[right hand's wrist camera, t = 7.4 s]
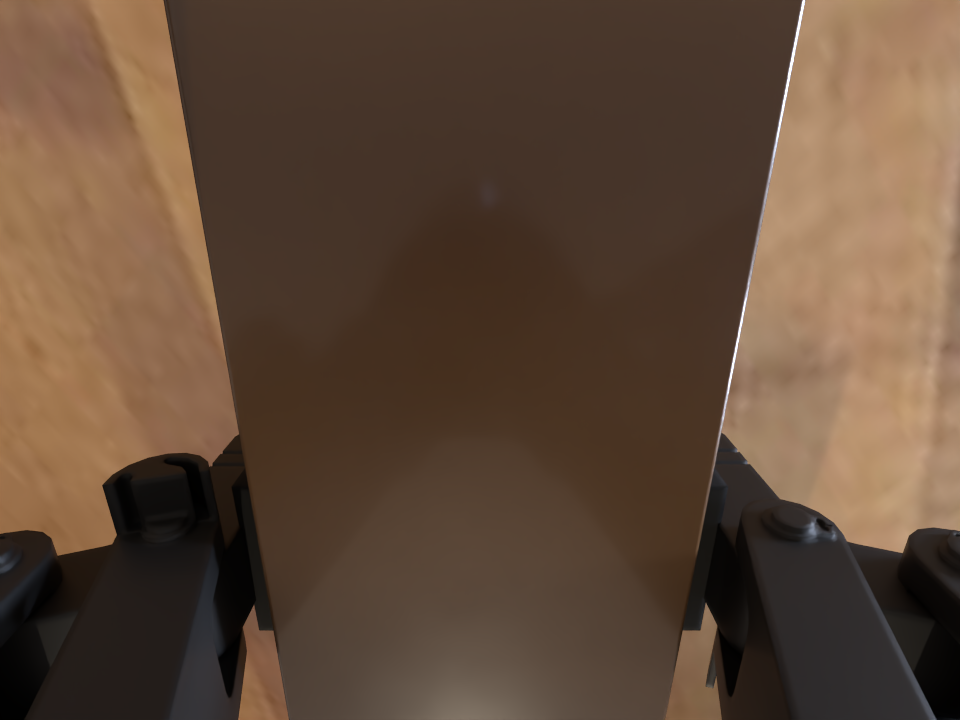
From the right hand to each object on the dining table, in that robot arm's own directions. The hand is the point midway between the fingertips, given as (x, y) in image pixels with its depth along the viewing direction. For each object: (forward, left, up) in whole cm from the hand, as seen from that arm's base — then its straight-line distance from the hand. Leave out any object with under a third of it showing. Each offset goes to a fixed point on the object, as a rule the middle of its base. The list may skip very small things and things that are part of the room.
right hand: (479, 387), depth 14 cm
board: (+2, -22, -1) cm, 23 cm away
